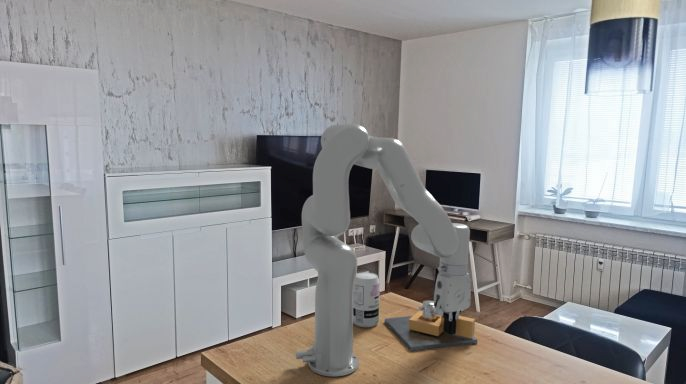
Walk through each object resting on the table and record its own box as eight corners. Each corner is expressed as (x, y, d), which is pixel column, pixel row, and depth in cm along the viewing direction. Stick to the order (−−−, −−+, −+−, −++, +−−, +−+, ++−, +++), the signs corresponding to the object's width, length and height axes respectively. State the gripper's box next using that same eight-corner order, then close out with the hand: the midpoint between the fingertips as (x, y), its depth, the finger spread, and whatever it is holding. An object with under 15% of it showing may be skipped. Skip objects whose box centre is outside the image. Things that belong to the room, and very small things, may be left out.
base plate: (411, 351, 124) (412, 319, 123) (384, 322, 143) (385, 294, 142) (482, 342, 130) (484, 311, 129) (448, 316, 149) (449, 288, 148)
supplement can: (353, 317, 147) (354, 271, 145) (379, 318, 146) (380, 272, 144) (350, 327, 139) (351, 278, 137) (377, 329, 138) (379, 280, 136)
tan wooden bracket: (468, 343, 126) (469, 325, 125) (408, 329, 135) (409, 312, 134) (477, 331, 133) (478, 315, 133) (420, 318, 142) (420, 303, 142)
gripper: (442, 275, 120) (439, 343, 122) (482, 268, 128) (478, 332, 130) (423, 268, 126) (420, 332, 128) (462, 262, 134) (458, 323, 136)
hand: (449, 332), depth 129 cm, fingers closed
